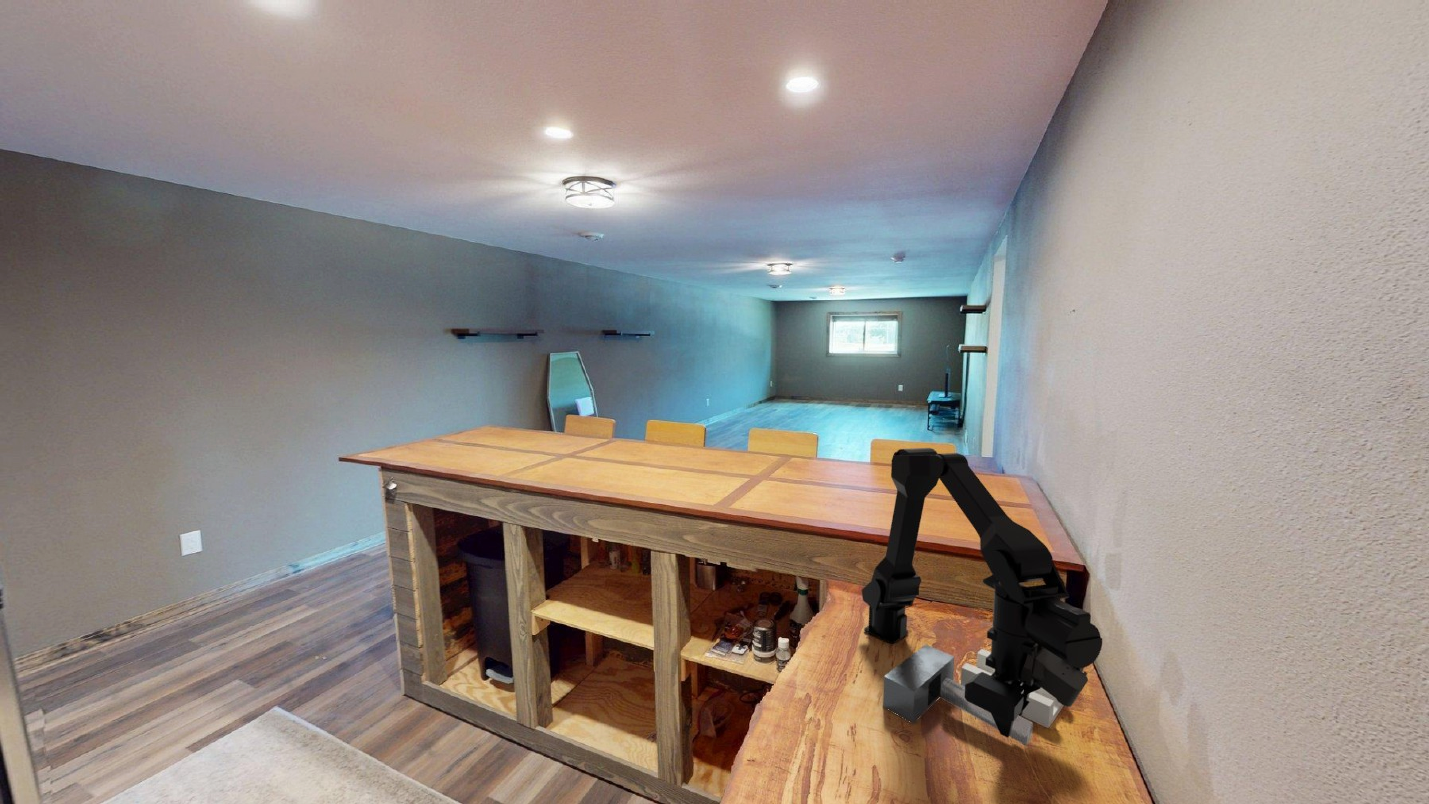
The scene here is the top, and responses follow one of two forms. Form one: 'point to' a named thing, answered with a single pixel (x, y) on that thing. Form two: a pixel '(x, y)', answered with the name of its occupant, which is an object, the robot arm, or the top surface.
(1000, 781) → the top surface
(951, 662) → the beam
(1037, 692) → the cradle
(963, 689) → the axle
